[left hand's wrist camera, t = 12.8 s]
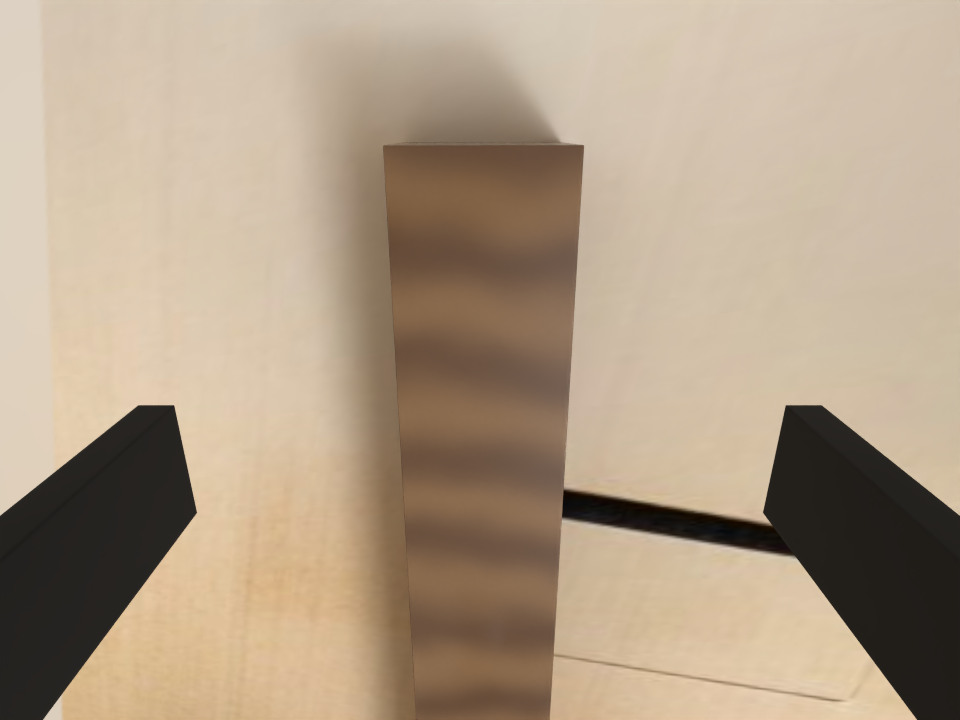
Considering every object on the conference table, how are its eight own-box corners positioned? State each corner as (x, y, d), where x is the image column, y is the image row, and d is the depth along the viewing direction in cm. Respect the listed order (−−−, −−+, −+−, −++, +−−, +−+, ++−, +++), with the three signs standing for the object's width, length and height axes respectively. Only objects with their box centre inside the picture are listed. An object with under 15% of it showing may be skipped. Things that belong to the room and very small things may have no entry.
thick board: (403, 142, 33) (382, 145, 26) (562, 142, 33) (584, 145, 26) (440, 943, 62) (435, 1045, 55) (524, 943, 62) (530, 1045, 55)
